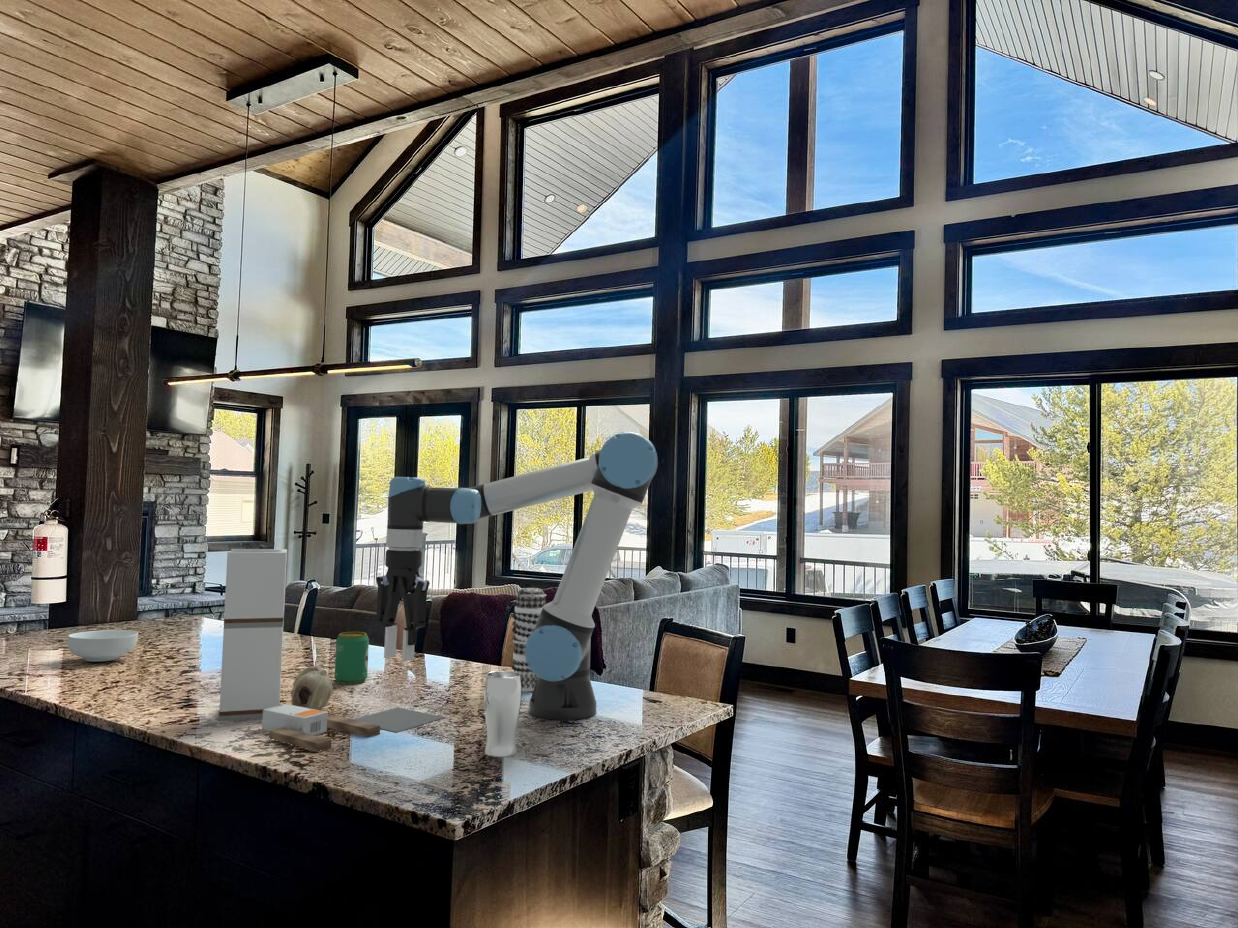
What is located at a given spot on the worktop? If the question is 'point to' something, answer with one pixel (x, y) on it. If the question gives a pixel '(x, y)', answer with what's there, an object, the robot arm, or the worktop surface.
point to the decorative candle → (525, 631)
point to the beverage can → (351, 657)
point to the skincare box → (295, 719)
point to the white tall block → (252, 632)
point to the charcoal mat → (399, 719)
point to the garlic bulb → (312, 688)
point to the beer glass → (502, 712)
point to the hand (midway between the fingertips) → (398, 658)
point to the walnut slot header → (323, 743)
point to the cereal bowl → (102, 644)
